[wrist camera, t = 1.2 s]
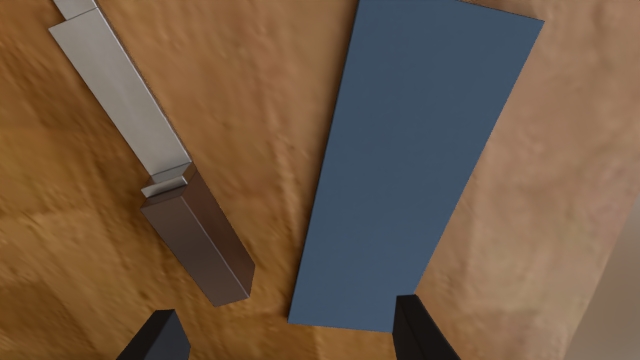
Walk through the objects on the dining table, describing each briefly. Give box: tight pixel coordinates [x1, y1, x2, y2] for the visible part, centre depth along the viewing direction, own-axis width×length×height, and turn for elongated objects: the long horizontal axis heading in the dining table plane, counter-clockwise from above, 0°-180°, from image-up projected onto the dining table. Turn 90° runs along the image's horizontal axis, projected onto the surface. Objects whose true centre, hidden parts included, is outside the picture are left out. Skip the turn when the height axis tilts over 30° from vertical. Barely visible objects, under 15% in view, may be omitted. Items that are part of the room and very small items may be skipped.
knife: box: [48, 0, 255, 307], centre depth 17 cm, size 19×3×3 cm, turn 19°
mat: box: [287, 0, 545, 333], centre depth 20 cm, size 9×23×1 cm, turn 169°
